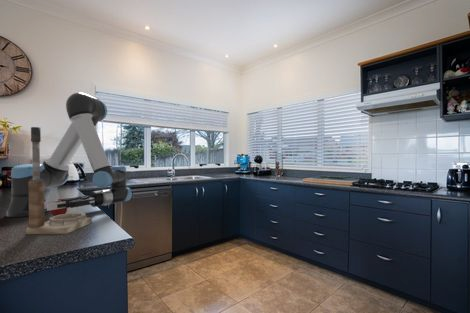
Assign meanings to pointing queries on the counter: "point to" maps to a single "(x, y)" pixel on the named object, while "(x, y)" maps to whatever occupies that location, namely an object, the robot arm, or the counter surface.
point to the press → (36, 201)
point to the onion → (58, 210)
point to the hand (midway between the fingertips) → (44, 206)
